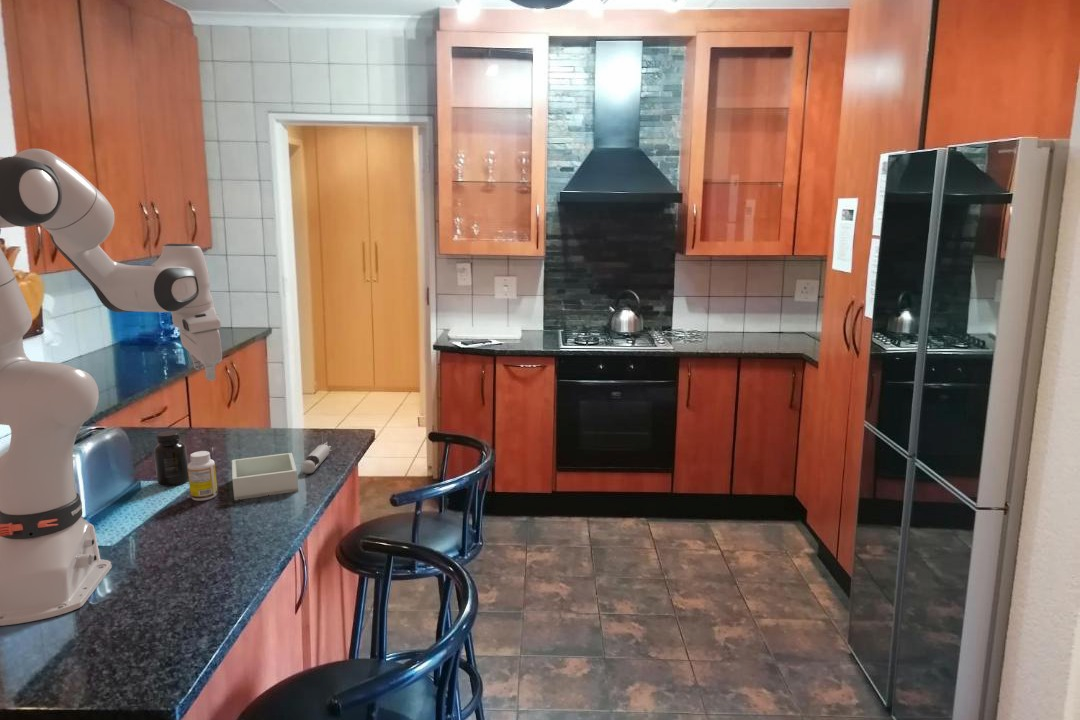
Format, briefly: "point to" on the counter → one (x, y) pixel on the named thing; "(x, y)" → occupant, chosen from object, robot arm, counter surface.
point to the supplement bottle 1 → (170, 459)
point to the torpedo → (315, 458)
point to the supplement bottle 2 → (202, 476)
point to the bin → (264, 476)
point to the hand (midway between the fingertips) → (205, 374)
